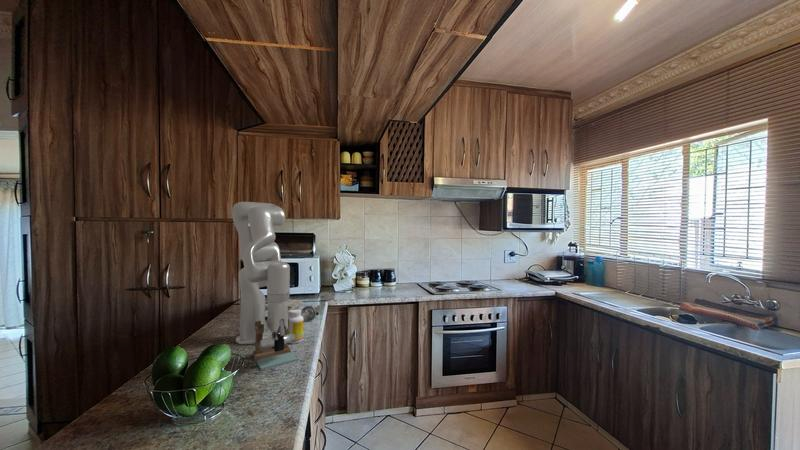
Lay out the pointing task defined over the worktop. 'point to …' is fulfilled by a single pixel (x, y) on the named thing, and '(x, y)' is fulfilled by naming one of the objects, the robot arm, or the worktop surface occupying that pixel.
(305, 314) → the spaceship
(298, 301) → the newspaper
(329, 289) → the worktop surface
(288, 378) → the worktop surface
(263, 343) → the steel rail
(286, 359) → the rubber mat
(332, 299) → the worktop surface
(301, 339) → the supplement bottle
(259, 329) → the walnut rack
